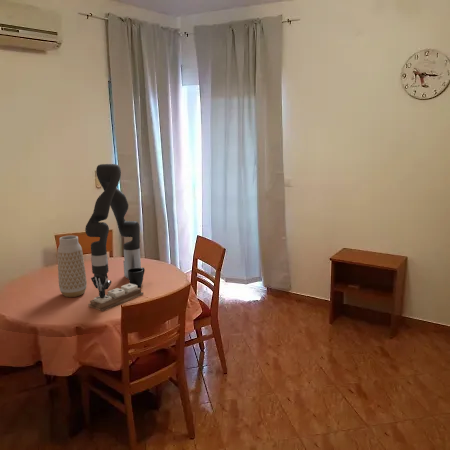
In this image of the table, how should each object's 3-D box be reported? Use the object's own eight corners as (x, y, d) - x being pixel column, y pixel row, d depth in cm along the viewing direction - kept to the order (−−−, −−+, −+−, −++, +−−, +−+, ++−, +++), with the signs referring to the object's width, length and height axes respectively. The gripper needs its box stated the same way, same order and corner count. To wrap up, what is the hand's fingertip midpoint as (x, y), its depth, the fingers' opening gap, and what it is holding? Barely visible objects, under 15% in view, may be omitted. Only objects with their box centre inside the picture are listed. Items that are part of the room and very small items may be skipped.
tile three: (93, 303, 205) (93, 297, 205) (104, 299, 210) (103, 294, 210) (101, 305, 202) (101, 300, 201) (111, 301, 207) (111, 296, 206)
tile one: (121, 291, 219) (120, 286, 218) (129, 287, 223) (129, 282, 223) (129, 293, 215) (128, 288, 215) (137, 289, 220) (137, 285, 219)
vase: (61, 300, 214) (55, 242, 207) (58, 292, 226) (52, 236, 219) (89, 295, 220) (84, 238, 213) (85, 287, 232) (80, 233, 225)
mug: (150, 283, 237) (150, 266, 236) (138, 290, 227) (137, 273, 225) (138, 281, 241) (137, 265, 239) (125, 288, 230) (124, 271, 228)
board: (88, 306, 206) (88, 300, 205) (129, 290, 227) (128, 285, 226) (102, 311, 200) (102, 305, 199) (143, 294, 220) (143, 289, 220)
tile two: (107, 296, 212) (107, 291, 211) (117, 292, 217) (116, 287, 216) (115, 298, 209) (115, 293, 208) (125, 294, 213) (124, 289, 213)
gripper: (84, 262, 203) (87, 296, 206) (102, 267, 195) (104, 302, 199) (97, 259, 209) (100, 292, 212) (115, 263, 201) (117, 297, 205)
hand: (102, 297), depth 205 cm, fingers closed
